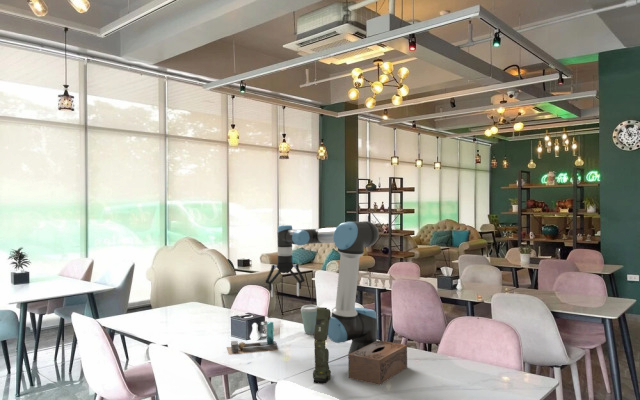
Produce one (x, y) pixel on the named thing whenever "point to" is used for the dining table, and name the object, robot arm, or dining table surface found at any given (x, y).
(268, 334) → the ram
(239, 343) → the walnut
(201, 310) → the dining table surface
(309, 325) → the disposable coffee cup
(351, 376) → the tissue box cover
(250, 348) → the press base
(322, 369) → the mechanical leg
